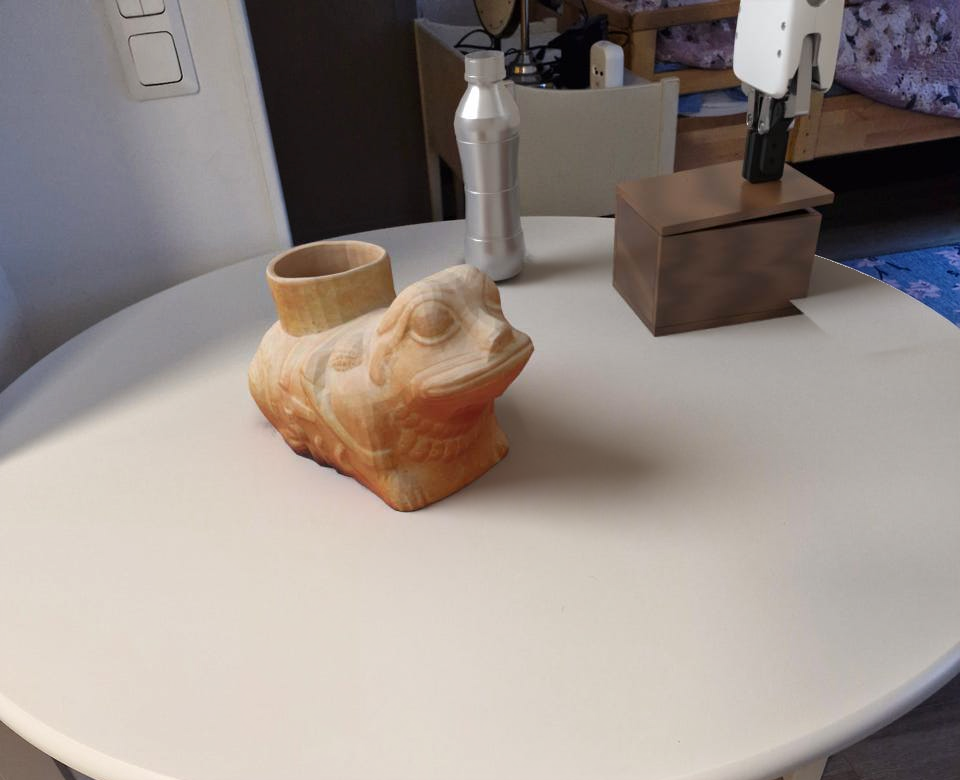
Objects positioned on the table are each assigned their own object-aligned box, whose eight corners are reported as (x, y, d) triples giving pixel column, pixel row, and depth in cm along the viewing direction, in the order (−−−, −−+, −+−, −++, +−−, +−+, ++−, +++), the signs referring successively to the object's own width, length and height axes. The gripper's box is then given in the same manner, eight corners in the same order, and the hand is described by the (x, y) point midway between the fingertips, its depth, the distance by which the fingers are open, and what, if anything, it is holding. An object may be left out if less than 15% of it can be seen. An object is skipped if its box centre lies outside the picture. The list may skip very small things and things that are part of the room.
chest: (747, 265, 92) (760, 173, 86) (803, 313, 83) (822, 214, 77) (612, 285, 91) (615, 193, 85) (654, 336, 82) (661, 237, 76)
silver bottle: (537, 269, 95) (533, 48, 82) (506, 292, 91) (496, 64, 78) (485, 260, 98) (473, 45, 84) (453, 283, 94) (434, 61, 80)
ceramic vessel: (447, 550, 60) (423, 337, 50) (227, 429, 74) (173, 243, 64) (578, 463, 67) (580, 260, 57) (354, 367, 81) (323, 191, 71)
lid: (769, 162, 86) (770, 153, 85) (833, 202, 77) (834, 193, 76) (615, 192, 85) (615, 183, 84) (661, 236, 76) (661, 227, 75)
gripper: (898, -78, 63) (841, 199, 76) (801, -93, 74) (765, 152, 86) (798, -68, 62) (757, 210, 75) (714, -85, 73) (691, 161, 86)
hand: (761, 178), depth 81 cm, fingers closed
